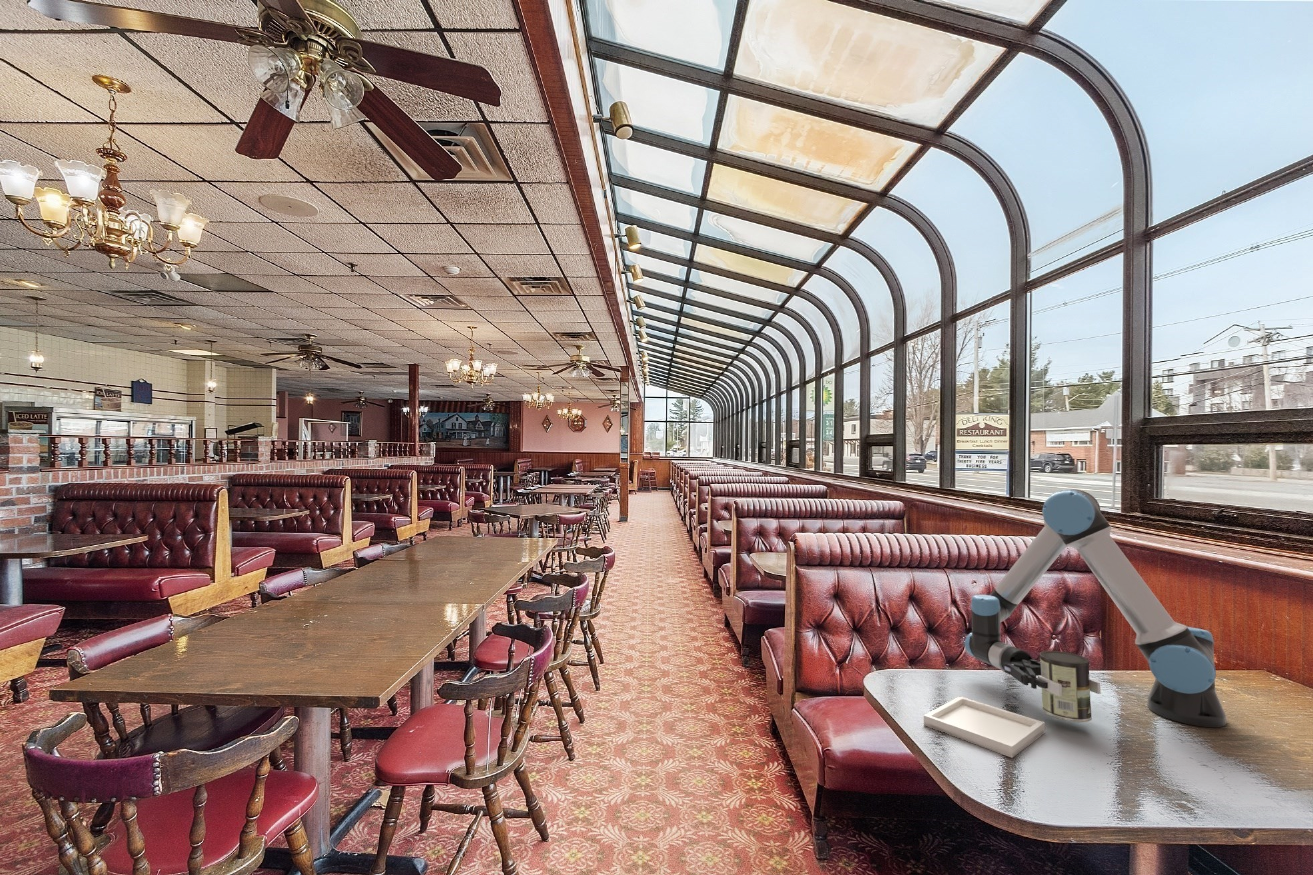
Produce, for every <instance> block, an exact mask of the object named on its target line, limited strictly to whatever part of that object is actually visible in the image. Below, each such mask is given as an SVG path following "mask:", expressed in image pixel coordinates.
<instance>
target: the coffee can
mask: <svg viewBox="0 0 1313 875" xmlns="http://www.w3.org/2000/svg"><path fill="white" fill-rule="evenodd" d="M1039 660H1040V661H1039V662H1041V676H1042V677H1045V678H1047V679H1049V680H1052V681H1054V682H1056V683H1059V684H1061V685H1062V696H1058V695H1055V694H1053V693H1051V692H1049V691H1047V690H1045V689H1042V688H1041V701H1042V702H1041V704H1042V705H1041V706H1042V707H1041V708H1042V711H1043V712H1044V713H1045V714H1047V715H1048V716H1050V717H1053V718H1056V719H1059V720H1062V721H1067V722H1073V723H1086V722H1090V721H1092V720H1093V718H1092V717H1093V716H1092V704H1091V702H1092V701H1091V691H1090V680H1089V678H1090V660H1089V658H1086V656H1085V657H1084V656H1082V655H1080V654H1077V653H1072V652H1066V651H1058V650H1044V651H1040V652H1039Z"/></svg>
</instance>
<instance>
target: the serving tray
mask: <svg viewBox="0 0 1313 875" xmlns="http://www.w3.org/2000/svg"><path fill="white" fill-rule="evenodd" d="M924 725H925V726H924ZM923 726H924V727H926V726H928V727H927V728H929V727H930V729H932V728H933V729H932V730H934V729H935V731H937V730H939V731H938V732H940V731H941V732H940V733H943V732H945V733H947V734H946V735H948V734H950V735H949V736H951V735H952V736H951V737H954V736H955V737H954V738H956V737H957V739H959V738H961V739H960V740H962V739H963V740H962V741H964V740H966V741H965V742H967V741H968V743H970V742H971V744H973V745H975V744H976V746H978V747H982V748H984V749H986V750H988V751H989V750H990V751H992V752H995V753H998V754H1000V755H1003V756H1007V758H1008V757H1009V758H1011V759H1013V758H1014V757H1016V756H1017V755H1019V753H1021V752H1022V751H1024V750H1025V749H1026V748H1027V747H1029V746H1030V745H1032V743H1034V742H1035V741H1036V740H1037V739H1039V738H1041V735H1042V734H1043V735H1045V733H1044V732H1046V727H1045V726H1046V724H1045V722H1044V721H1040V720H1038V719H1035V718H1032V717H1028V716H1026V715H1025V716H1024V715H1021V714H1019V713H1015V712H1014V711H1009V710H1005V709H1003V708H1000V707H996V706H993V705H990V704H986V703H983V702H980V701H978V700H973V699H970V698H967V697H964V696H961V695H959V696H958V697H956V698H954V699H952V700H950V701H948V702H946V703H945V704H943V705H941V706H939V707H937V708H935V709H933V710H930V711H929V712H927V713H926V714H923ZM945 733H944V734H945Z"/></svg>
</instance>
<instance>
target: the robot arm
mask: <svg viewBox="0 0 1313 875" xmlns="http://www.w3.org/2000/svg"><path fill="white" fill-rule="evenodd" d="M1101 511H1102V510H1101V506H1100V503H1099V501H1098V500H1097V498H1095V496H1093V495H1092V494H1090V493H1089V492H1087V491H1085V490H1081V489H1065V490H1059V491H1057V492H1054V493H1053V494H1051V495H1050V496H1049V497H1048V498H1047V499H1046V500H1045V502H1044V503H1043V506H1042V511H1041V512H1042V517H1043V522H1044V526H1043V527H1042V529H1041V530H1040V531H1039V533H1038V534H1037V535H1036V536H1035V538H1034V539H1033V540H1032V541H1031V543H1030V544H1029V545H1028V546H1027V547H1026V549H1025V550H1024V551H1023V552H1022V554H1021V555H1020V557H1018V559H1017V560H1016V561H1015V563H1013V565H1012V566H1011V568H1010V569H1009V570H1008V571H1007V572H1006V574H1005V575H1004V576H1003V578H1002V579H1000V581H999V583H998V584H997V585H996V587H995V588H994V589H993V590H992V591H991V592H990V594H975V595H972V597H971V602H970V612H971V632H969V634H967V635H966V636H965V637H966V638H965V640H964V649H965V651H966V653H968V654H969V655H970V656H972V657H974V658H975V659H976V660H978V661H980V662H983V663H985V664H988V665H990V666H992V667H994V668H996V669H998V670H1001V671H1002V673H1005V674H1008V675H1010V676H1011V677H1013V678H1014V679H1015V680H1017V681H1018V682H1019V683H1021V684H1022V685H1024V686H1029V684H1030V688H1031V689H1033V690H1034V689H1035V690H1037V688H1038V687H1039V688H1041V690H1042V689H1045V690H1047V691H1049V692H1051V693H1053V694H1055V695H1058V696H1062V685H1061V684H1059V683H1056V682H1054V681H1052V680H1049V679H1047V678H1045V677H1042V676H1041V662H1040V661H1039V660H1037V659H1033V658H1032V656H1031V655H1030V654H1029V653H1028V651H1025V650H1023V649H1021V648H1018V647H1016V646H1014V645H1012V644H1011V645H1010V644H1008V643H1007V642H1006V643H1005V642H1003V641H1002V640H1001V639H1002V638H1001V635H1002V633H1001V632H1002V631H1001V623H1002V622H1004V621H1005V620H1007V619H1009V618H1010V616H1012V615H1013V613H1014V610H1016V608H1017V607H1018V605H1019V604H1020V603H1021V602H1022V601H1023V600H1024V598H1025V597H1026V596H1027V595H1028V593H1029V592H1030V591H1031V590H1032V589H1033V587H1034V586H1035V585H1036V584H1037V583H1038V581H1039V580H1040V579H1041V577H1043V575H1044V574H1045V573H1046V572H1047V570H1049V569H1050V567H1051V566H1052V564H1053V563H1054V562H1055V561H1056V560H1057V559H1058V558H1059V556H1061V553H1063V551H1065V549H1066V548H1067V547H1069V548H1072V549H1074V550H1076V551H1077V552H1078V554H1079V555H1080V557H1081V558H1082V559H1083V561H1084V562H1085V564H1086V565H1087V566H1088V568H1089V569H1090V571H1091V572H1092V574H1094V577H1095V578H1096V579H1097V580H1098V582H1099V583H1100V585H1101V586H1102V588H1104V590H1105V592H1106V593H1107V595H1108V596H1109V597H1110V598H1111V600H1112V601H1113V603H1114V604H1115V605H1116V607H1117V608H1118V610H1119V611H1120V613H1121V614H1122V616H1123V617H1124V618H1125V620H1126V621H1127V622H1128V624H1129V625H1130V627H1131V628H1132V630H1133V631H1134V632H1135V633H1136V636H1135V639H1134V643H1135V645H1136V646H1137V647H1138V649H1139V651H1140V652H1141V654H1142V655H1143V656H1144V658H1145V659H1146V661H1147V662H1148V666H1149V670H1150V672H1151V674H1152V675H1153V676H1154V678H1155V679H1154V682H1153V685H1152V686H1151V690H1150V692H1149V693H1148V694H1149V695H1148V696H1147V708H1148V709H1149V711H1151V712H1152V713H1154V714H1156V715H1158V716H1161V717H1163V718H1166V719H1168V720H1171V721H1175V722H1179V723H1182V724H1187V725H1191V726H1197V727H1203V728H1222V726H1223V727H1225V726H1226V725H1227V719H1226V718H1227V717H1226V712H1225V710H1224V708H1223V706H1222V703H1221V701H1220V699H1219V696H1218V695H1217V692H1216V684H1215V683H1216V682H1215V681H1216V677H1217V671H1216V670H1217V669H1216V666H1215V653H1214V652H1215V651H1214V645H1215V641H1214V638H1213V634H1212V633H1211V631H1209V630H1206V629H1201V628H1197V627H1190V626H1187V625H1185V624H1182V623H1179V622H1177V621H1174V619H1173V618H1172V616H1171V615H1170V614H1169V612H1167V611H1168V610H1166V608H1165V607H1164V606H1163V604H1162V603H1161V601H1160V600H1159V599H1158V598H1157V596H1156V595H1155V594H1154V592H1153V591H1152V590H1151V588H1150V587H1149V585H1148V584H1147V583H1146V581H1145V580H1144V579H1143V577H1141V575H1140V574H1139V572H1138V571H1137V570H1136V568H1135V567H1134V565H1133V564H1132V563H1131V562H1130V560H1129V559H1128V558H1127V556H1126V555H1125V553H1124V552H1123V551H1122V549H1121V548H1120V547H1119V546H1118V544H1117V543H1116V541H1115V540H1114V539H1113V538H1112V536H1111V530H1112V525H1111V524H1110V523H1109V521H1108V520H1107V519H1106V518H1105V516H1104V515H1103V514H1102V512H1101ZM1089 680H1090V692H1092V693H1094V694H1097V695H1101V694H1102V692H1101V682H1100V681H1097V680H1095V679H1092V678H1090V677H1089Z"/></svg>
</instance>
